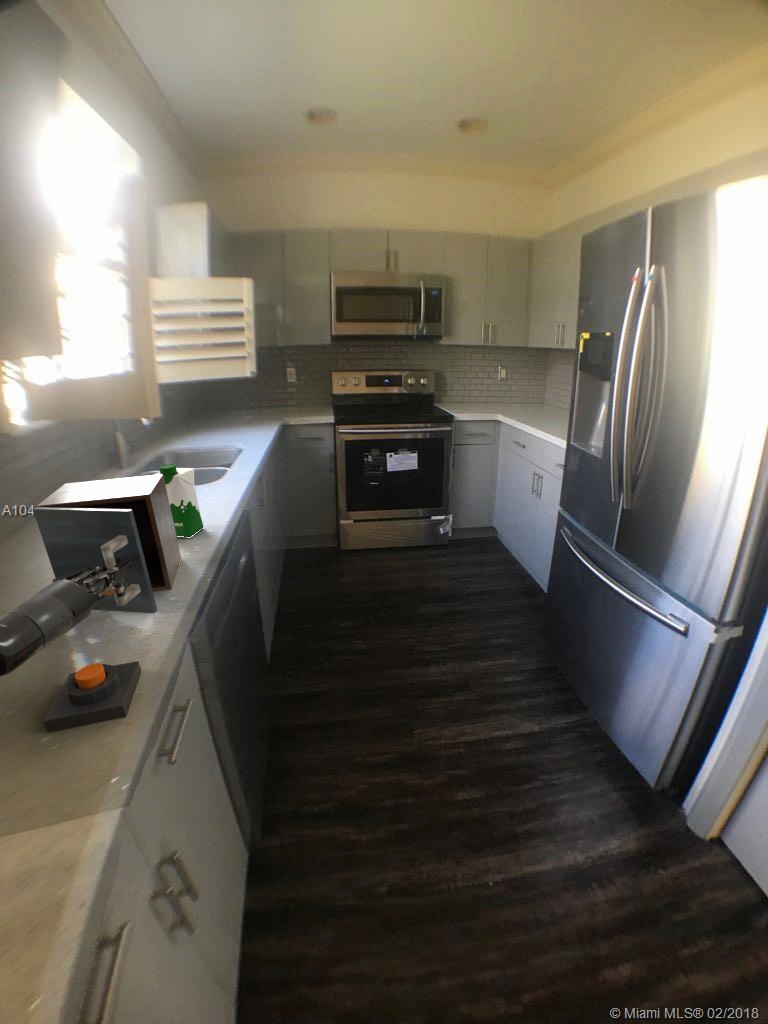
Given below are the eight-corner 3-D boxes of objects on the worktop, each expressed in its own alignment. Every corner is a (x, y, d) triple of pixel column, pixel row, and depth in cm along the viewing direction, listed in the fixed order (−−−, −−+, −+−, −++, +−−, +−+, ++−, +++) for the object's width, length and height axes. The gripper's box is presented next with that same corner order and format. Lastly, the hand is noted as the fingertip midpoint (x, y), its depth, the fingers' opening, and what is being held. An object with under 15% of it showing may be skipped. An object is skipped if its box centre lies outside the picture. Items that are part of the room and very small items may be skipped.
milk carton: (162, 539, 125) (146, 468, 118) (181, 526, 133) (167, 459, 126) (191, 540, 124) (177, 469, 116) (209, 527, 132) (196, 460, 125)
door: (137, 628, 86) (108, 522, 78) (43, 622, 89) (6, 519, 81) (157, 610, 92) (132, 509, 84) (68, 605, 95) (36, 507, 87)
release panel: (47, 733, 64) (39, 711, 62) (73, 684, 73) (66, 664, 71) (126, 717, 66) (119, 695, 64) (141, 671, 75) (136, 651, 74)
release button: (74, 691, 66) (71, 682, 65) (82, 675, 69) (79, 666, 69) (101, 686, 67) (98, 677, 66) (109, 670, 70) (106, 661, 69)
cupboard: (171, 589, 100) (149, 494, 92) (68, 605, 95) (35, 506, 87) (181, 559, 113) (163, 474, 105) (91, 571, 108) (65, 483, 101)
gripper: (17, 632, 72) (97, 577, 88) (94, 638, 70) (162, 581, 86) (1, 591, 70) (87, 542, 85) (81, 596, 67) (153, 545, 83)
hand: (124, 562), depth 86 cm, fingers closed on door
